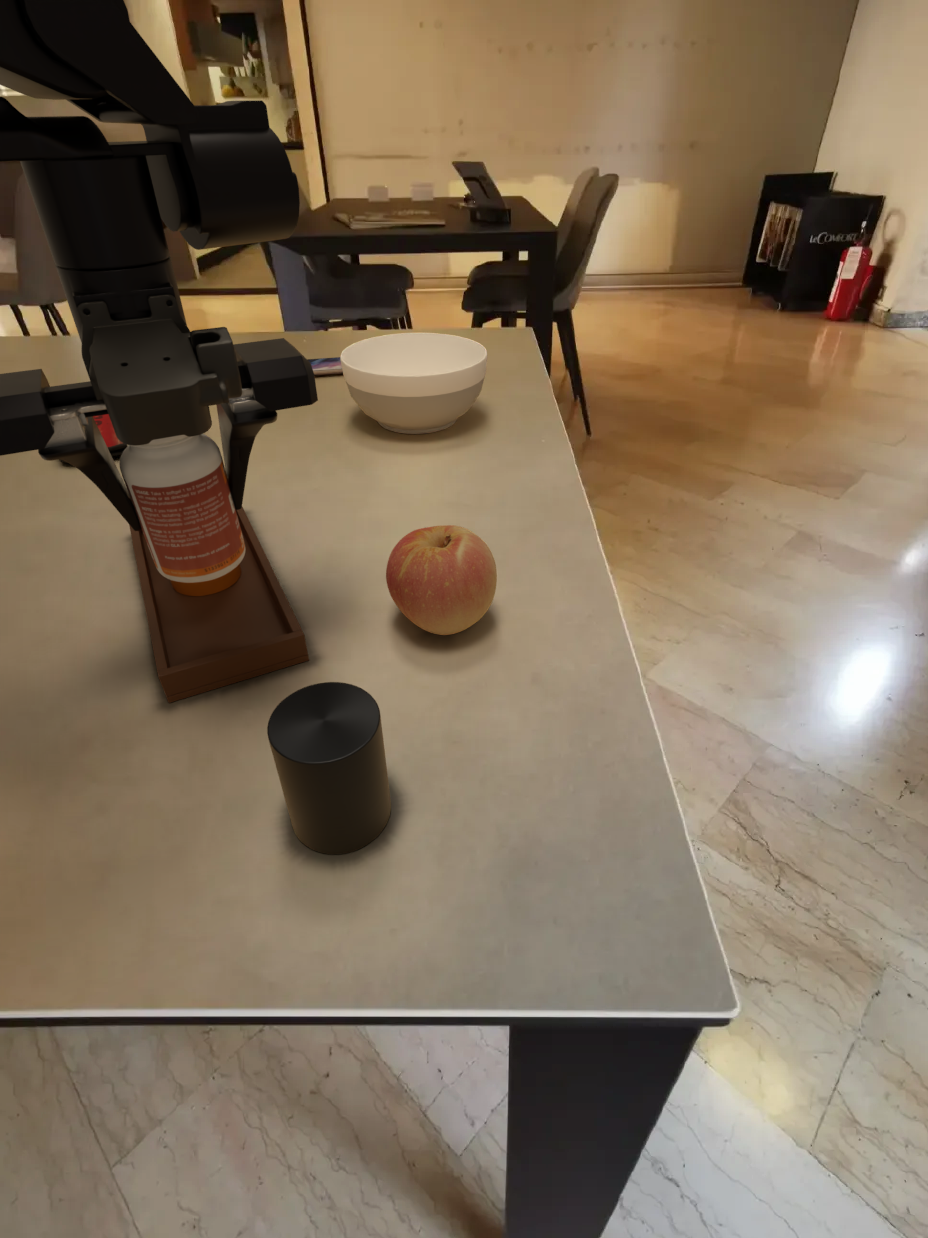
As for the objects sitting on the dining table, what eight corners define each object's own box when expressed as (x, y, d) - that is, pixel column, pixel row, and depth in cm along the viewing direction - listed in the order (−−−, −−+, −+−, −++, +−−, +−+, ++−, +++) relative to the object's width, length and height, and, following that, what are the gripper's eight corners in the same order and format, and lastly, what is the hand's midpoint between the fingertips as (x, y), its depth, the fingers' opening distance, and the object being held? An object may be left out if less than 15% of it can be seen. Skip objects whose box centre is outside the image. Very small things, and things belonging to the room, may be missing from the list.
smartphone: (281, 360, 109) (373, 354, 111) (282, 366, 109) (373, 359, 112) (280, 373, 103) (377, 366, 105) (281, 379, 104) (377, 372, 106)
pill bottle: (265, 557, 48) (229, 407, 41) (190, 597, 44) (137, 440, 37) (214, 529, 51) (173, 385, 44) (140, 565, 47) (82, 414, 40)
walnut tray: (309, 660, 52) (304, 634, 50) (168, 703, 48) (158, 676, 46) (240, 514, 70) (235, 492, 68) (135, 537, 66) (127, 514, 65)
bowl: (336, 403, 96) (328, 339, 90) (461, 388, 100) (461, 327, 95) (362, 455, 81) (355, 383, 76) (507, 435, 86) (509, 366, 81)
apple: (429, 667, 51) (424, 581, 46) (371, 611, 57) (361, 528, 52) (517, 625, 55) (521, 541, 50) (454, 576, 61) (453, 497, 56)
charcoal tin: (274, 842, 39) (246, 751, 34) (316, 764, 44) (296, 673, 39) (371, 864, 38) (356, 773, 33) (403, 781, 42) (395, 690, 37)
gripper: (-123, 313, 27) (32, 620, 36) (326, 271, 33) (358, 541, 43) (-84, 266, 35) (35, 528, 44) (273, 239, 41) (310, 473, 51)
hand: (188, 517), depth 45 cm, fingers closed on pill bottle, 6 cm apart
